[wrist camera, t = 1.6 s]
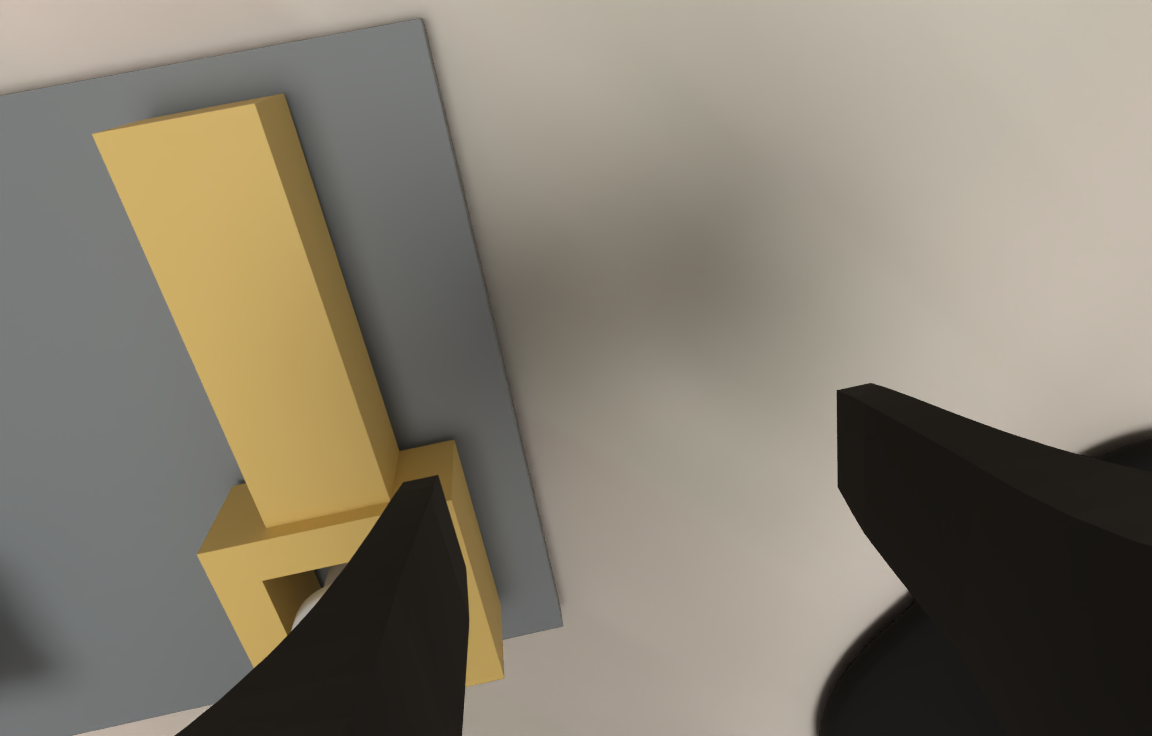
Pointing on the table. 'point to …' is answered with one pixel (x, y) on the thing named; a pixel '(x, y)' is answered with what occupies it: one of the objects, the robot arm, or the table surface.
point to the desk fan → (922, 673)
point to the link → (278, 365)
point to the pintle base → (176, 394)
